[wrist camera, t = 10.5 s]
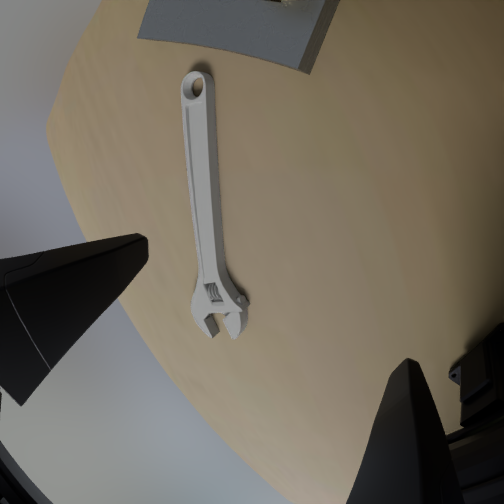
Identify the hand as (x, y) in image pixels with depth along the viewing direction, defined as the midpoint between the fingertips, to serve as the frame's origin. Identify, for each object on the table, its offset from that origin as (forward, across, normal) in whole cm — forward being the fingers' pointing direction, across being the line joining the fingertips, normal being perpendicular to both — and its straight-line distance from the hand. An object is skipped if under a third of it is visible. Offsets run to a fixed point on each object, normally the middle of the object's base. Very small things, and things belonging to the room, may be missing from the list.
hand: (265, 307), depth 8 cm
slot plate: (+14, +11, -15) cm, 23 cm away
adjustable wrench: (+13, +8, +6) cm, 17 cm away
